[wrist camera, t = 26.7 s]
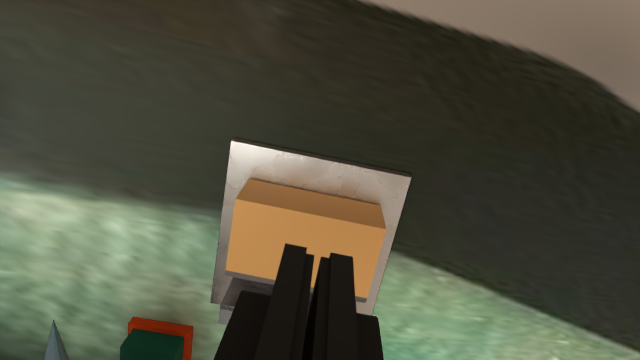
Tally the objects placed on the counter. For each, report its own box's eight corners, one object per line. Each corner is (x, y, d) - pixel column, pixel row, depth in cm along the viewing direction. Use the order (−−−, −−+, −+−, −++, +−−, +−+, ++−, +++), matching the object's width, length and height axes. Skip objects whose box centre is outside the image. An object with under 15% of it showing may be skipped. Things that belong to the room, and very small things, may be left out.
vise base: (365, 325, 43) (369, 371, 37) (213, 295, 42) (193, 336, 37) (409, 173, 37) (421, 198, 31) (234, 137, 37) (214, 156, 31)
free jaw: (362, 272, 39) (365, 303, 34) (238, 247, 39) (224, 275, 34) (380, 205, 37) (386, 229, 32) (248, 178, 36) (235, 198, 32)
